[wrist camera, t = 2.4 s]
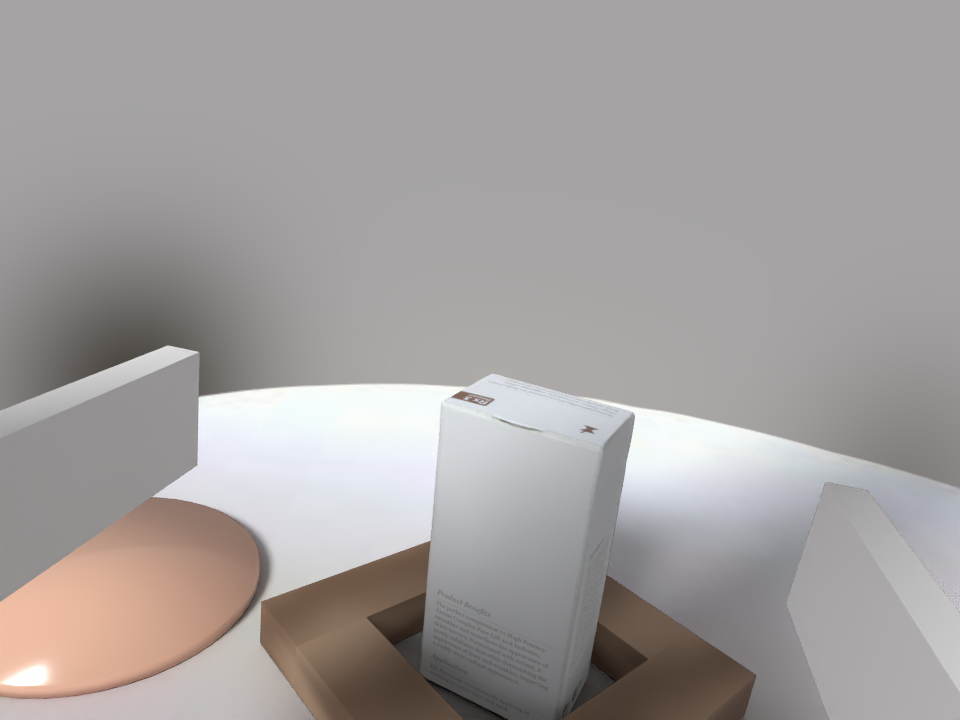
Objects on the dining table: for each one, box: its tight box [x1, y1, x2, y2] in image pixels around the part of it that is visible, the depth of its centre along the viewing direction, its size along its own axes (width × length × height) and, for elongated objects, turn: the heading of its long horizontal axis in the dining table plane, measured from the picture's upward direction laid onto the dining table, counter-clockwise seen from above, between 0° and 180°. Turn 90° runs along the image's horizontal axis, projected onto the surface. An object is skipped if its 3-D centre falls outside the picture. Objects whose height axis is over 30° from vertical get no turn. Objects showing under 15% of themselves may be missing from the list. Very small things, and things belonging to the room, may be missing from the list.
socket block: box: [260, 541, 756, 720], centre depth 27 cm, size 14×14×2 cm
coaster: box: [0, 497, 260, 699], centre depth 30 cm, size 13×13×1 cm
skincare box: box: [420, 374, 635, 720], centre depth 26 cm, size 6×4×12 cm
